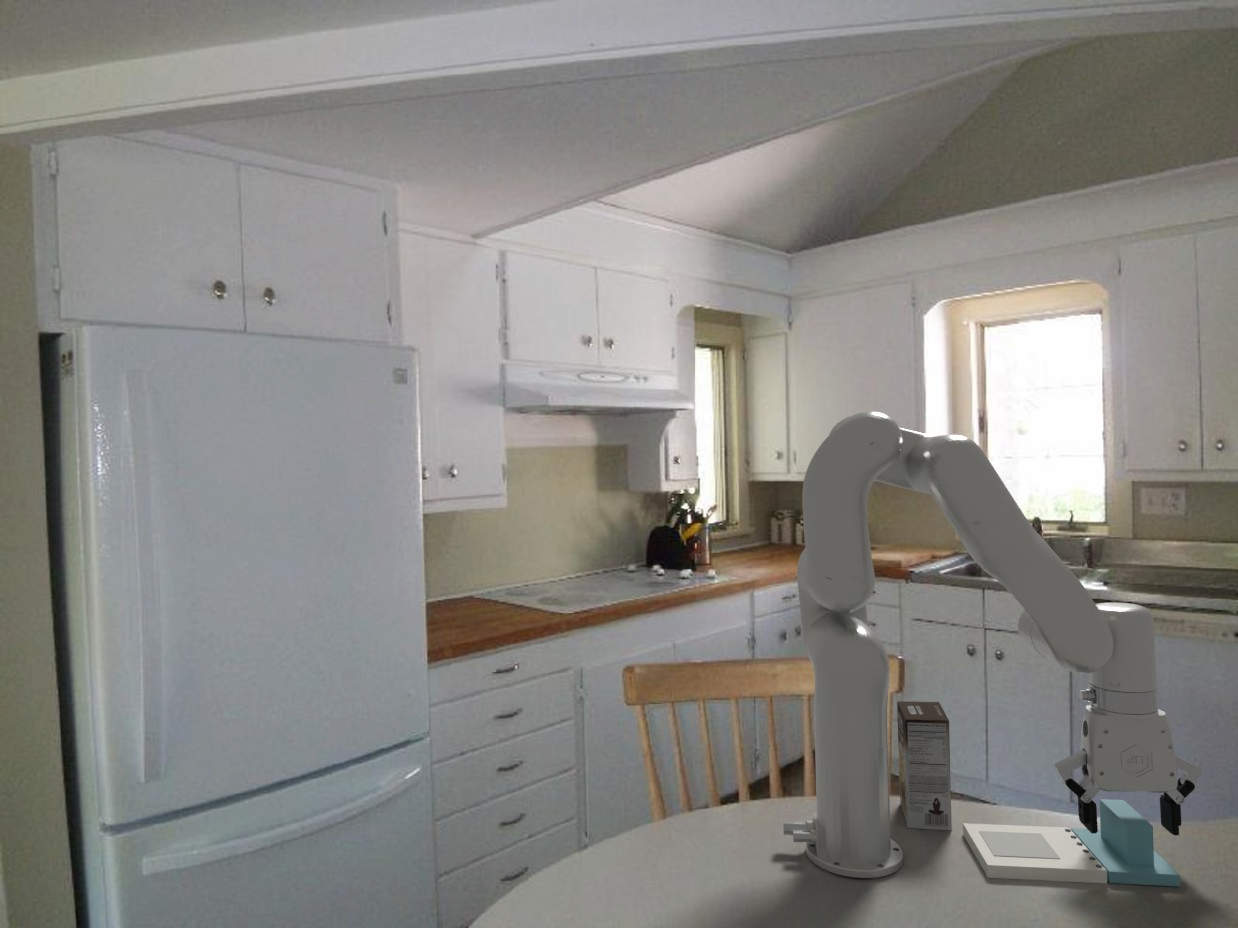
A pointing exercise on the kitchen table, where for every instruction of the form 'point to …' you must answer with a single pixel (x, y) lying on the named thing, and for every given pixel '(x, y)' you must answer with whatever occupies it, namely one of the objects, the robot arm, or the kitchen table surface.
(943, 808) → the coffee box
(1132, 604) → the robot arm
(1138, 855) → the stub
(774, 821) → the kitchen table surface
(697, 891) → the kitchen table surface
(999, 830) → the white notebook
